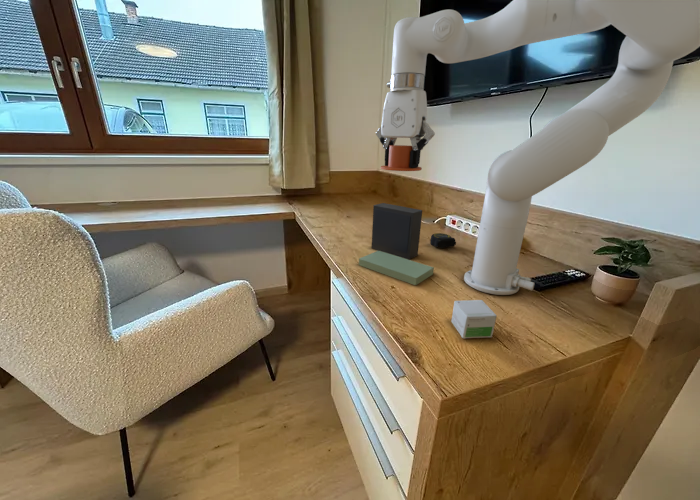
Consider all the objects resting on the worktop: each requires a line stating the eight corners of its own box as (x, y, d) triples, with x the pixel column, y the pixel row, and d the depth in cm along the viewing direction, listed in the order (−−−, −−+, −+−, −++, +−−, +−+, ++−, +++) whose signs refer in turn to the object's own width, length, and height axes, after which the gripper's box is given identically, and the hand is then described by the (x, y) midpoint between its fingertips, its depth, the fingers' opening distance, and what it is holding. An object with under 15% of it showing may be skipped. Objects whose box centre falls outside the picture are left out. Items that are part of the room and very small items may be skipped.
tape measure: (436, 250, 98) (438, 239, 97) (426, 243, 104) (427, 233, 103) (455, 249, 100) (457, 238, 99) (443, 242, 106) (445, 232, 105)
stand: (433, 274, 81) (434, 267, 80) (415, 285, 75) (416, 278, 74) (378, 256, 92) (378, 250, 92) (358, 265, 86) (358, 258, 85)
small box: (462, 339, 55) (466, 316, 53) (450, 321, 60) (453, 299, 59) (493, 338, 56) (498, 315, 54) (478, 320, 61) (482, 298, 59)
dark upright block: (417, 255, 94) (422, 210, 89) (408, 259, 90) (413, 213, 86) (380, 244, 103) (383, 202, 98) (371, 248, 99) (373, 205, 94)
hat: (428, 169, 77) (431, 146, 75) (407, 172, 70) (409, 146, 68) (395, 166, 83) (396, 144, 81) (372, 168, 76) (373, 145, 74)
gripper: (367, 86, 73) (364, 164, 79) (434, 79, 62) (424, 170, 68) (385, 90, 78) (381, 163, 84) (450, 84, 68) (440, 168, 74)
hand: (401, 165), depth 76 cm, fingers closed on hat, 6 cm apart
